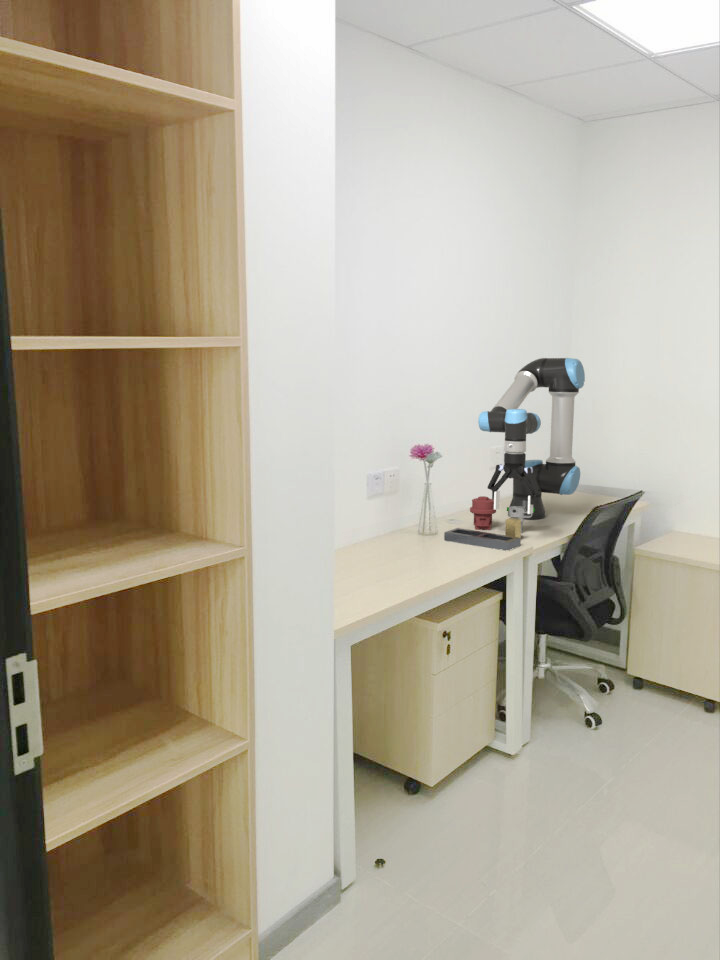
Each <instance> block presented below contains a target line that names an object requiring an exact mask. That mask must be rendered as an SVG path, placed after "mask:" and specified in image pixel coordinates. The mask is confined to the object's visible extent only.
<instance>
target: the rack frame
mask: <svg viewBox="0 0 720 960" xmlns="http://www.w3.org/2000/svg"><path fill="white" fill-rule="evenodd" d="M443 537H444V541H445V542H453V543H458V544H465V545H469V546H477V547H481V548H482V547H483V548H488V549H494V548H495V550H500V549H502V550H501V551H506V550H509V551H511V550H510V549H512V548H514V549H516V548H515V547H517V546H519V547H521V538H522V537H521V538H519V537H513V536H506V535H505V534H498V533H494V532H493V533H492V532H486V531H479V530H473V529H468V528H467V529H466V528H460V527H457V528H454V529H449V530H448V531H445V532H444V535H443ZM517 548H518V547H517ZM512 550H513V549H512Z"/></svg>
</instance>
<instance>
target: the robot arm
mask: <svg viewBox="0 0 720 960" xmlns="http://www.w3.org/2000/svg"><path fill="white" fill-rule="evenodd" d="M585 376H586V375H585V369H584V366H583V363H582V362H581V361H580V360H579V359H578V358H573V357H560V358H559V357H555V358H554V357H550V358H549V357H548V358H547V357H542V358H541V357H540V358H537V359H535V360H532V361H530V362H529V363H527V364H526V365H525V366H522V368H521V369H520V370H519V371H518V372H517V373H516V374H515V377H514V381H513V382H512V384H510V386H509V388H507V390H506V391H505V393H504V394H503V395H502V396H501V398H499V400H498V401H497V403H496V404H495V405H494V406H493V408H492V409H491V410H489V411H488V410H486V411H481V413H479V416H478V420H477V421H478V422H477V423H478V427H479V429H480V431H482V432H489V433H504V450H503V451H504V452H505V453H504V455H503V463H504V464H502V463H500V464H496V466H495V470H494V472H493V475H492V476H491V479H490V481H489V483H488V485H487V489H488V490H490V491H491V492H492V493H491V494H492V495H491V496H492V497H491V499H492V500H494V509H495V510H496V511H497V510H499V509H500V497H501V495H500V494H501V493H500V492H501V491H500V490H499V489H500V488H501V487H502V486H503V485H504V483H505V482H506V481H507V480H508V479H512V497H511V501H510V504H509V506H523V507H525V509H526V511H528V513H525V515H531V514H532V517H530V518H524V520H539V519H543V518H545V517H546V509H545V505H544V502H543V499H542V495H543V493H545V494H546V493H547V494H554V495H555V494H556V495H560V496H563V495H568V496H569V495H572V494H574V493H575V492H576V490H577V488H578V486H579V483H580V479H581V469H580V467H579V466H578V465H576V460H575V459H574V458H573V439H574V436H573V435H574V418H575V417H574V414H575V397H576V396H577V395H578V394H579V391H580V389H583V387H584V385H585V379H586V377H585ZM538 388H547V389H548V394H549V395H550V396H551V397H552V398H551V399H552V400H551V419H550V420H551V422H550V424H551V425H550V444H549V457H548V458H547V459H545V463H544V462H543V459H528V460H527V459H526V455H527V454H526V451H527V435H528V434H529V435H531V434H534V433H536V432H538V431H539V429H540V428H541V426H542V425H541V424H542V421H541V418H540V416H539V415H538V414H537V413H534V412H528V411H527V409H523V408H519V407H520V406H521V405H522V403H523V402H524V401H525V400H526V398H527V397H528V396H529V394H530V393H532V392H535V390H536V389H538ZM502 471H504V473H503V474H502V476H501V473H502ZM500 476H501V477H500ZM499 477H500V479H499ZM498 479H499V480H498ZM533 508H535V512H533ZM512 512H514V513H515V512H516V510H515V509H514V510H513V511H512ZM507 516H508V517H509V518H517V517H511V516H510V515H509V511H507Z"/></svg>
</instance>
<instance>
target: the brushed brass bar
mask: <svg viewBox="0 0 720 960" xmlns="http://www.w3.org/2000/svg"><path fill="white" fill-rule="evenodd" d="M504 531H505V534H504V535H506V536H513V537H519V538H522V537H521V535H522V533H521V519H517V518H513V517H509V518H505V530H504Z"/></svg>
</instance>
